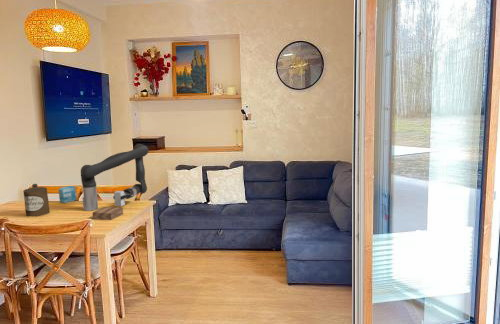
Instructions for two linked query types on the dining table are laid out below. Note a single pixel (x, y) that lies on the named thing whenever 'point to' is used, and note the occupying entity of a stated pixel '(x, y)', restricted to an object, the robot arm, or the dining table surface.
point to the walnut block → (107, 213)
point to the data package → (67, 194)
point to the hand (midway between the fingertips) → (117, 197)
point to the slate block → (119, 198)
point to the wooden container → (36, 201)
